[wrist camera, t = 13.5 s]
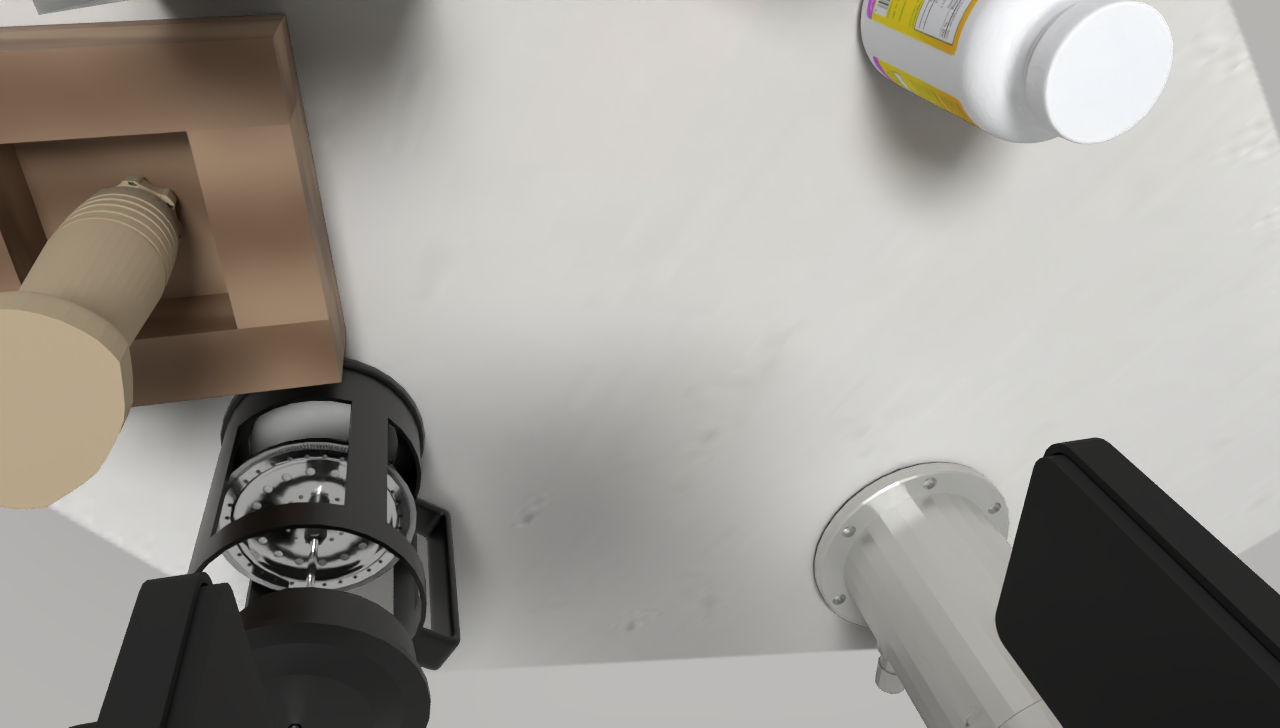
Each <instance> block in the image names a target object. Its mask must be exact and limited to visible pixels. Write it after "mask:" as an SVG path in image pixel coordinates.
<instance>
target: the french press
mask: <svg viewBox="0 0 1280 728" xmlns="http://www.w3.org/2000/svg"><path fill="white" fill-rule="evenodd" d="M305 401H335V402H340V403H346V404H351V414H350V429H349V441H345V440H339V439H330V438H307V439H301V440H294V441H288V442H284V443H281V444H278V445H275V446H272V447H269V448H267V449H265V450H263V451H260V452H258V453H256V454H254V455H252V451H251V448H250V432H251V428H252V426H253V424H254V422H255V420H256V418H257V417H258V416H260V415H262V414H264V413H266V412H268V411H270V410H272V409H275V408H278V407H281V406H284V405H288V404H291V403H297V402H305ZM388 423H389V424H391V425H392V426H393V427H394V428H395V429H396V433H397V438H398V448H397V452H396V455H395V458H394V460H393V462H392V464H390V463H389V462H388ZM423 449H424V430H423V424H422V419H421V416H420V414H419V412H418V409H417V407H416V405H415V403H414V402H413V400H412V399H411V397H410V396H409V395H408V393H407V392H406V391H405V389H404V388H402V387H401V386H400V385H399V384H398V383H397V382H396V381H395V380H393V379H392V378H391V377H390V376H388V375H386V374H385V373H383V372H381V371H380V370H378V369H376V368H374V367H372V366H369V365H366V364H364V363H361V362H358V361H355V360H350V359H345V358H344V360H343V371H342V382H339V383H330V384H322V385H313V386H305V387H296V388H288V389H280V390H271V391H263V392H254V393H246V394H237V395H236V396H235V397H234V398H233V399H232V401H231V403H230V405H229V407H228V409H227V411H226V413H225V416H224V420H223V425H222V430H221V451H220V454H219V458H218V462H217V466H216V469H215V473H214V477H213V481H212V484H211V488H210V492H209V495H208V499H207V503H206V507H205V510H204V514H203V518H202V522H201V525H200V529H199V533H198V537H197V540H196V544H195V548H194V552H193V555H192V559H191V563H190V566H189V570H188V574H192V573H199V572H202V571H203V570H204V568H205V567H206V566H207V565H208V564H209V563H210V562H211V561H213V560H214V559H215V558H217V557H218V556H219V555H221V554H223V555H224V557H225V558H226V560H227V561H228V562H229V563H230V564H231V565H232V566H233V567H235V568H236V569H237V570H238V571H239V572H240V573H242V574H243V575H245V576H246V577H248V578H249V579H250V582H249V588H248V593H247V599H246V604H245V608H244V609H243V610H242V611H240V612H239V613H240V616H241V619H242V623H243V626H244V629H245V632H246V635H247V638H248V642H249V645H250V648H251V651H252V654H253V658H254V661H255V664H256V667H257V670H258V674H259V677H260V680H261V683H262V686H263V689H264V693H265V696H266V699H267V702H268V705H269V709H270V712H271V715H272V718H273V721H274V724H275V728H426V726H427V724H428V721H429V715H430V703H431V702H430V701H431V700H430V692H429V687H428V682H427V678H426V676H425V674H424V673H423V671H422V669H421V667H424V668H427V669H431V670H437V669H439V668H440V667H441V665H442V664H443V663H444V662H445V661H446V659H447V658H448V657H449V656H450V654H451V653H452V652H453V651H454V650H455V648H456V647H457V646H458V645H459V643H460V627H459V614H458V602H457V589H456V577H455V565H454V552H453V540H452V527H451V516H450V513H449V512H448V511H447V510H445V509H443V508H441V507H438V506H436V505H434V504H431V503H429V502H427V501H424V500H422V499H419V498H417V495H418V492H419V489H420V481H421V457H422V454H423ZM417 533H418V534H420V535H423V536H424V537H425V538H426V539H427V546H428V568H429V590H430V612H431V630H429V629H427V628H424V627H423V624H424V622H425V617H426V580H425V575H424V570H423V564H422V562H421V560H420V558H419V556H418V554H417ZM393 566H394V615H392V614H391V613H389V612H388V611H387V610H385V609H384V608H382V607H381V606H379V605H378V604H376V603H374V602H372V601H369V600H367V599H365V598H363V597H361V596H358V595H355V594H351V593H347V592H343V591H347V590H350V589H353V588H356V587H359V586H362V585H364V584H366V583H368V582H370V581H372V580H374V579H376V578H378V577H380V576H381V575H382V574H384V573H385V572H386V571H388V570H389V569H390V568H392V567H393ZM418 588H419V592H420V597H419V594H418ZM420 666H421V667H420Z"/></svg>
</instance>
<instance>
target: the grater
mask: <svg viewBox="0 0 1280 728" xmlns="http://www.w3.org/2000/svg"><path fill="white" fill-rule="evenodd" d="M120 1H126V0H33V3H34V5H35V7H36V9H37V12H38V14H39V15H41V14H47V13H53V12H59V11H65V10H71V9H77V8H84V7H90V6H96V5H102V4H108V3H114V2H120Z"/></svg>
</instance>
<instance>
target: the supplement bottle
mask: <svg viewBox="0 0 1280 728" xmlns="http://www.w3.org/2000/svg"><path fill="white" fill-rule="evenodd" d="M861 34H862V40H863V44H864V48H865V50H866V53H867V55H868V57H869V59H870V61H871V62H872V64H873V65H874V66H875V67H876V69H877V70H878V71H879V72H880V73H881V74H882V75H884V76H885V77H886V78H888V79H889V80H891V81H892V82H894V83H896V84H897V85H899V86H901V87H903V88H905V89H907V90H909V91H910V92H912V93H914V94H916V95H918V96H920V97H922V98H924V99H926V100H927V101H929V102H931V103H933V104H935V105H937V106H939V107H941V108H943V109H945V110H947V111H948V112H950V113H952V114H954V115H956V116H958V117H960V118H961V119H963V120H965V121H967V122H969V123H971V124H973V125H975V126H976V127H978V128H980V129H982V130H983V131H985V132H987V133H989V134H991V135H993V136H995V137H997V138H1000V139H1003V140H1006V141H1010V142H1015V143H1038V142H1043V141H1047V140H1050V139H1053V138H1056V137H1061V138H1064V139H1066V140H1069V141H1071V142H1074V143H1079V144H1096V143H1101V142H1105V141H1107V140H1110V139H1113V138H1115V137H1117V136H1119V135H1121V134H1122V133H1124V132H1125V131H1127V130H1128V129H1130V128H1131V127H1133V126H1134V125H1135V124H1136V123H1137V122H1139V121H1140V120H1141V119H1142V118H1143V117H1144V116H1145V115H1146V113H1147V112H1148V111H1149V110H1150V109H1151V107H1152V106H1153V105H1154V103H1155V102H1156V100H1157V99H1158V97H1159V95H1160V94H1161V92H1162V90H1163V88H1164V86H1165V83H1166V81H1167V78H1168V75H1169V72H1170V69H1171V63H1172V57H1173V42H1172V36H1171V32H1170V29H1169V27H1168V24H1167V22H1166V21H1165V19H1164V18H1163V16H1162V15H1161V14H1160V13H1159V12H1158V11H1157V10H1155V9H1154V8H1153V7H1151V6H1149V5H1147V4H1145V3H1142V2H1139V1H1136V0H864V1H863V6H862V12H861Z"/></svg>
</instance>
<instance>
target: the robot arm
mask: <svg viewBox="0 0 1280 728" xmlns="http://www.w3.org/2000/svg"><path fill="white" fill-rule="evenodd" d="M1009 524H1010V523H1009V512H1008V508H1007V505H1006V503H1005V500H1004V497H1003V496H1002V495H1001V494H1000V492H999V491H998V490H997V488H996V487H995V486H994V485H993V484H992V483H991V482H990V481H989V480H988V479H987V478H986V477H985V476H984V475H983V474H981V473H979V472H977V471H976V470H974V469H972V468H970V467H966V466H962V465H959V464H954V463H939V462H938V463H929V464H920V465H916V466H912V467H909V468H905V469H901V470H899V471H896V472H894V473H892V474H889V475H887V476H885V477H882V478H881V479H879V480H877V481H876V482H874V483H872V484H871V485H869V486H867V487H866V488H864V489H863V490H862V491H860V492H859V493H858V494H857V495H855V496H854V497H853V498H852V499H850V500H849V501H848V502H847V503H846V504H845V505H844V507H843V508H842V509H841V510H840V511H839V512H838V513H837V514H836V515H835V517H834V518H833V519H832V521H831V522H830V524H829V525H828V527H827V528H826V530H825V532H824V534H823V536H822V538H821V540H820V543H819V545H818V548H817V553H816V557H815V578H816V582H817V585H818V588H819V590H820V592H821V594H822V596H823V597H824V599H825V601H826V603H827V604H828V605H829V607H830V608H831V609H832V610H833V611H834V612H835V613H836V614H837V615H839V616H840V617H842V618H843V619H844V620H847V621H849V622H852V623H854V624H857V625H861V626H867V627H869V628H870V629H871V631H872V633H873V635H874V636H875V638H876V640H877V648H878V651H879V652H880V653H881V656H880V657H879V661H878V667H877V672H876V679H875V682H876V684H877V686H878V687H879V688H880V689H881V690H883V691H884V692H887V693H890V694H894V693H895V694H896V693H900V692H901V691H903V690H904V688H905V690H906V691H907V693H908V695H909V697H910V699H911V700H912V702H913V704H914V706H915V707H916V709H917V711H918V712H919V714H920V716H921V718H922V719H923V721H924V723H925V724H926V726H927V728H1280V595H1279V594H1278V593H1277V592H1276V591H1275V590H1274V589H1273V588H1271V587H1270V586H1269V585H1268V584H1267V583H1266V582H1264V580H1262V579H1261V578H1260V577H1259V576H1258V575H1257V574H1255V572H1253V571H1252V570H1251V569H1250V568H1249V567H1248V566H1247V565H1245V564H1244V563H1243V562H1242V561H1241V560H1240V559H1239V558H1238V557H1237V556H1236V555H1234V554H1233V553H1232V552H1231V551H1230V550H1229V549H1228V548H1227V547H1225V546H1224V545H1223V544H1222V543H1221V542H1220V541H1219V540H1218V539H1216V538H1215V537H1214V536H1213V535H1212V534H1211V533H1210V532H1209V531H1208V530H1206V529H1205V528H1204V527H1203V526H1202V525H1201V524H1200V523H1199V522H1197V521H1196V520H1195V519H1194V518H1193V517H1192V516H1191V515H1190V514H1188V513H1187V512H1186V511H1185V510H1184V509H1183V508H1182V507H1181V506H1180V505H1178V504H1177V503H1176V502H1175V501H1174V500H1173V499H1172V498H1171V497H1169V496H1168V495H1167V494H1166V493H1165V492H1164V491H1163V490H1162V489H1160V488H1159V487H1158V486H1157V485H1156V484H1155V483H1154V482H1153V481H1151V480H1150V479H1149V478H1148V477H1147V476H1146V475H1145V474H1144V473H1143V472H1141V471H1140V470H1139V469H1138V468H1137V467H1136V466H1135V465H1134V464H1132V463H1131V462H1130V461H1129V460H1128V459H1127V458H1126V457H1125V456H1123V455H1122V454H1121V453H1120V452H1119V451H1118V450H1117V449H1116V448H1115V447H1113V446H1112V445H1111V444H1110V443H1108V442H1107V441H1105V440H1104V439H1101V438H1089V439H1083V440H1076V441H1069V442H1063V443H1057V444H1053V445H1051V446H1050V447H1049V448H1048V449H1047V450H1046V452H1045V454H1044V457H1043V458H1040V459H1039V460H1038V461H1037V462H1036V463H1035V466H1034V468H1033V472H1032V476H1031V479H1030V483H1029V487H1028V491H1027V495H1026V498H1025V502H1024V506H1023V510H1022V514H1021V518H1020V521H1019V525H1018V529H1017V533H1016V537H1015V541H1014V544H1013V548H1012V547H1011V545H1010V544H1009V543H1008V542H1007V537H1008V531H1009ZM69 728H275V724H274V721H273V718H272V715H271V712H270V709H269V705H268V702H267V699H266V696H265V693H264V689H263V686H262V683H261V680H260V677H259V674H258V670H257V667H256V664H255V661H254V658H253V654H252V651H251V648H250V645H249V642H248V638H247V635H246V632H245V629H244V626H243V623H242V619H241V616H240V613H239V610H238V607H237V603H236V600H235V597H234V594H233V591H232V589H231V586H230V585H229V584H228V583H220V584H213V583H212V581H211V579H210V577H209V575H208V574H207V573H206V572H199V573H192V574H185V575H179V576H172V577H165V578H159V579H152V580H147V581H146V582H145V583H143V585H142V587H141V589H140V591H139V594H138V597H137V600H136V603H135V606H134V609H133V613H132V616H131V619H130V622H129V625H128V628H127V631H126V634H125V637H124V640H123V644H122V646H121V650H120V653H119V656H118V659H117V662H116V665H115V668H114V671H113V674H112V677H111V680H110V684H109V687H108V690H107V693H106V696H105V699H104V702H103V705H102V708H101V711H100V714H99V718H98V721H97V722H93V723H86V724H81V725H76V726H72V727H69Z"/></svg>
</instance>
